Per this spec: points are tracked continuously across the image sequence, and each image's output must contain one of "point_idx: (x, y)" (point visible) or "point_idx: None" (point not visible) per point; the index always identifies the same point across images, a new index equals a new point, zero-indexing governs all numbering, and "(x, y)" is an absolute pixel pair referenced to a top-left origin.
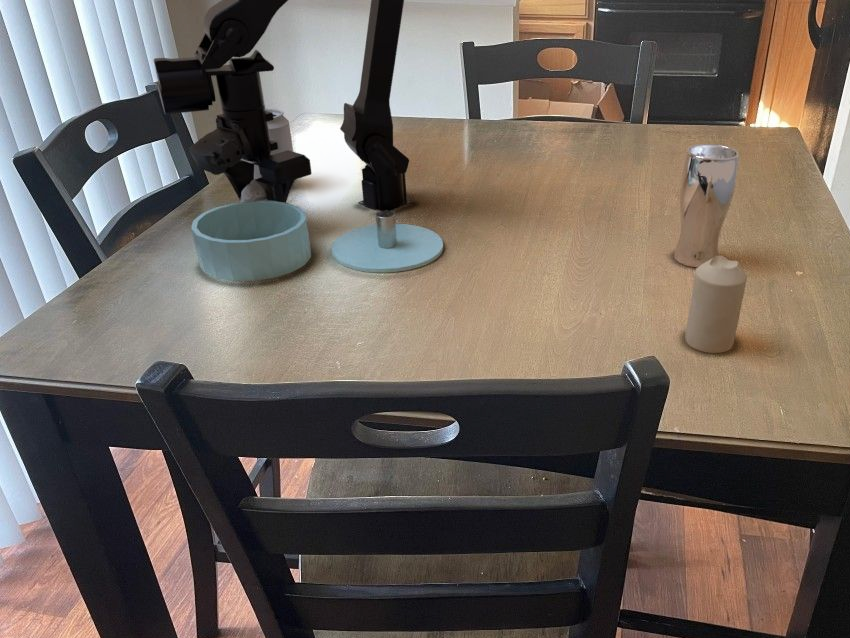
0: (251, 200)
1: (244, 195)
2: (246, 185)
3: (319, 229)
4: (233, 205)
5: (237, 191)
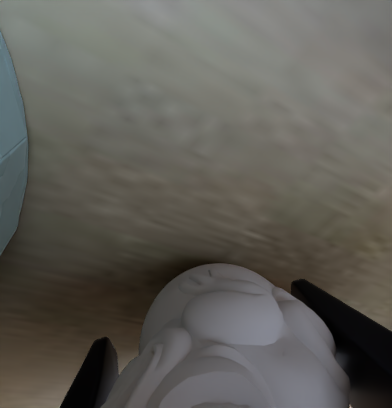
0: (142, 401)
1: (240, 392)
2: (372, 405)
3: (25, 394)
4: None
5: (376, 346)
